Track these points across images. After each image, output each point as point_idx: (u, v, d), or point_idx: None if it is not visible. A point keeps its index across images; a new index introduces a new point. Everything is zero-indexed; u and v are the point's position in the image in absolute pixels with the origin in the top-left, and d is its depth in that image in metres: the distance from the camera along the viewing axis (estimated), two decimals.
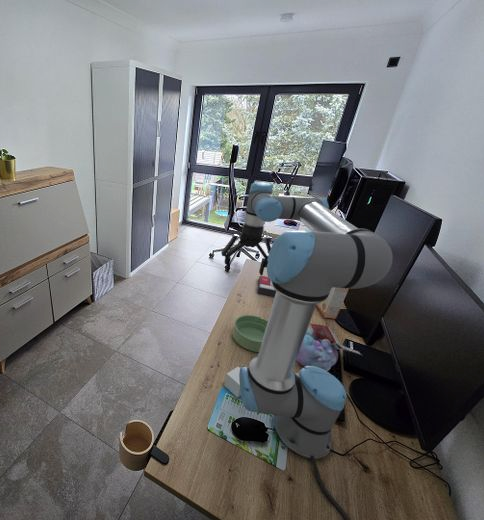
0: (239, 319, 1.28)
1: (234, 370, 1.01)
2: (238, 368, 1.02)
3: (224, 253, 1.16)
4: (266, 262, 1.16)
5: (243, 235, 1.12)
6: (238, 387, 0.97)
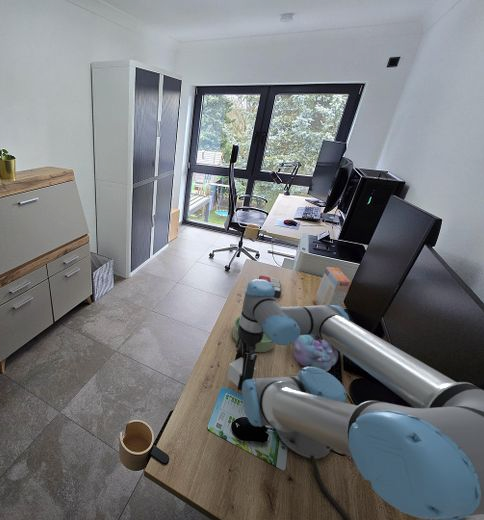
0: (239, 319, 1.28)
1: (237, 361, 0.99)
2: (241, 359, 1.00)
3: (236, 344, 1.02)
4: (243, 379, 0.92)
5: None
6: None
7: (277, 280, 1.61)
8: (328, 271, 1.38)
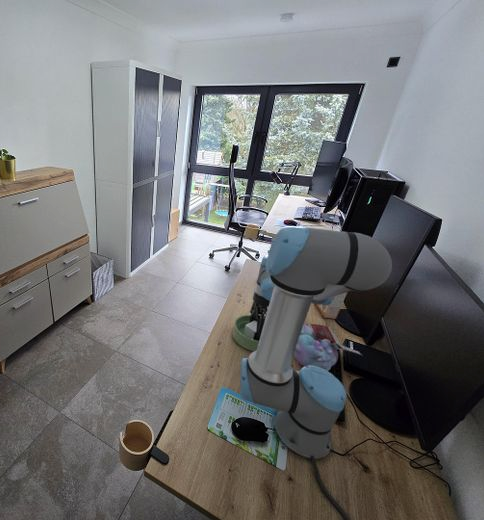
0: (239, 319, 1.28)
1: (251, 323, 1.24)
2: (254, 321, 1.24)
3: (250, 310, 1.27)
4: (257, 335, 1.17)
5: None
6: None
7: None
8: None
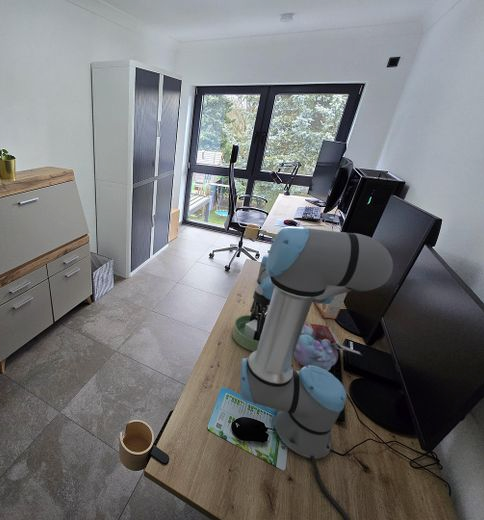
0: (239, 319, 1.28)
1: (251, 322, 1.23)
2: (254, 320, 1.24)
3: (251, 309, 1.27)
4: (257, 334, 1.17)
5: None
6: None
7: None
8: None
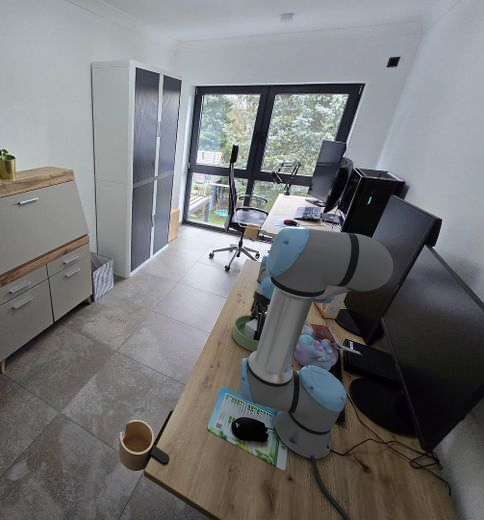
0: (239, 319, 1.28)
1: (251, 321, 1.23)
2: (255, 320, 1.24)
3: (251, 309, 1.26)
4: (257, 334, 1.17)
5: None
6: None
7: None
8: None
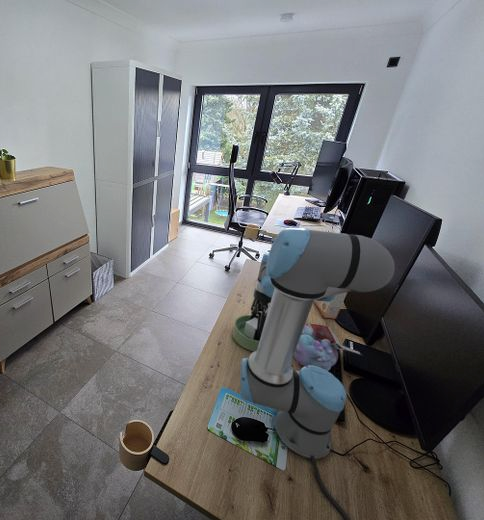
0: (239, 319, 1.28)
1: (252, 320, 1.23)
2: (255, 318, 1.24)
3: (251, 307, 1.26)
4: (257, 332, 1.16)
5: None
6: None
7: None
8: None
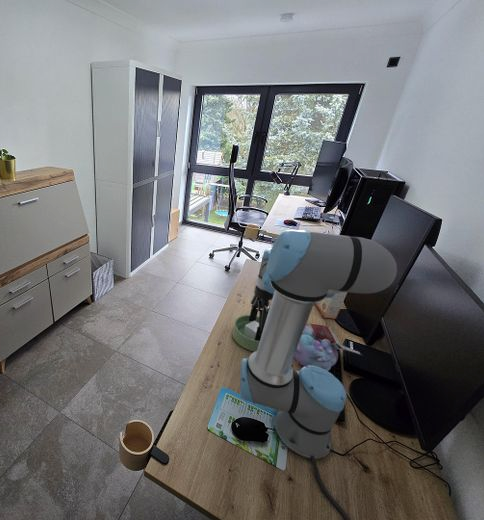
0: (239, 319, 1.28)
1: (251, 323, 1.24)
2: (254, 321, 1.24)
3: (251, 301, 1.26)
4: (259, 330, 1.14)
5: None
6: None
7: None
8: None
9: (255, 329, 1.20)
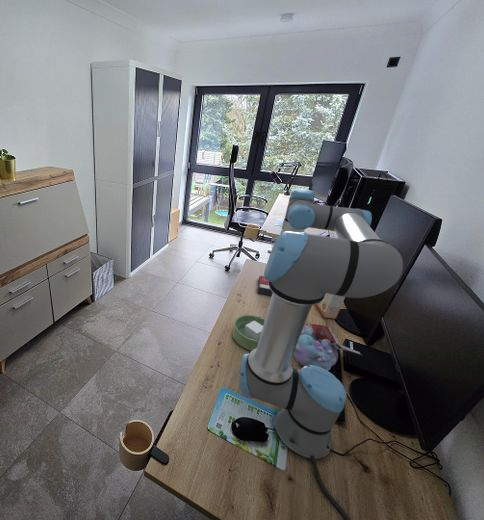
0: (239, 319, 1.28)
1: (251, 323, 1.24)
2: (254, 321, 1.24)
3: None
4: None
5: None
6: (255, 335, 1.19)
7: None
8: None
9: (255, 329, 1.20)
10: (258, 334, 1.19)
